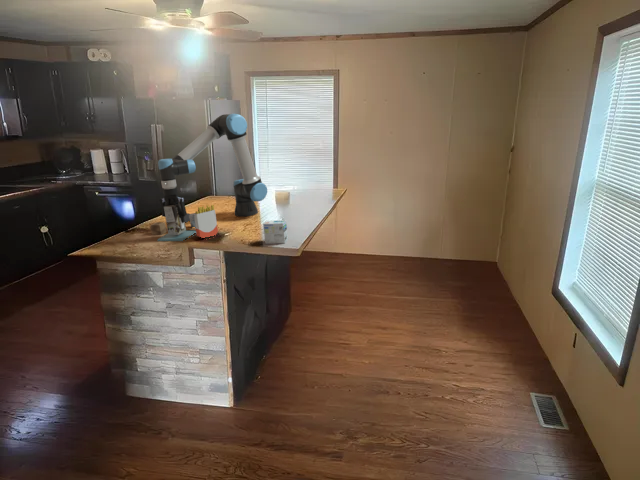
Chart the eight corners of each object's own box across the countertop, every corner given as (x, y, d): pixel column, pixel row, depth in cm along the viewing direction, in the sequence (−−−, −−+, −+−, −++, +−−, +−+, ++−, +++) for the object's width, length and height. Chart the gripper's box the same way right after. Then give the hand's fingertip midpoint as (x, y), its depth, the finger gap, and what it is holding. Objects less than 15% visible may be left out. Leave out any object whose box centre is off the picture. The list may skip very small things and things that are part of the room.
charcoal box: (191, 221, 280) (190, 213, 278) (180, 224, 274) (179, 216, 272) (185, 220, 283) (184, 212, 282) (175, 223, 277) (173, 215, 276)
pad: (197, 232, 251) (197, 230, 251) (184, 241, 236) (183, 239, 236) (172, 232, 255) (172, 230, 254) (157, 241, 240) (157, 239, 239)
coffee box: (178, 234, 240) (173, 206, 235) (168, 235, 241) (162, 206, 236) (186, 230, 248) (182, 202, 244) (176, 230, 250) (171, 202, 245)
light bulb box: (288, 239, 226) (286, 219, 223) (285, 243, 220) (283, 223, 216) (268, 240, 228) (266, 220, 224) (264, 244, 221) (262, 223, 218)
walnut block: (166, 232, 258) (164, 222, 256) (161, 235, 252) (159, 225, 250) (157, 232, 259) (155, 222, 257) (151, 235, 253) (150, 225, 251)
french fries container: (196, 239, 238) (191, 207, 233) (214, 234, 245) (209, 203, 240) (201, 240, 235) (195, 208, 229) (218, 235, 242) (214, 204, 236)
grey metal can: (203, 225, 266) (201, 212, 264) (198, 228, 261) (196, 215, 258) (194, 225, 267) (191, 213, 265) (189, 228, 262) (187, 215, 259)
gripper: (149, 189, 236) (157, 230, 243) (182, 188, 232) (189, 230, 239) (157, 186, 243) (164, 226, 250) (189, 185, 239) (195, 226, 246)
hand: (176, 228), depth 244 cm, fingers closed on coffee box, 6 cm apart
